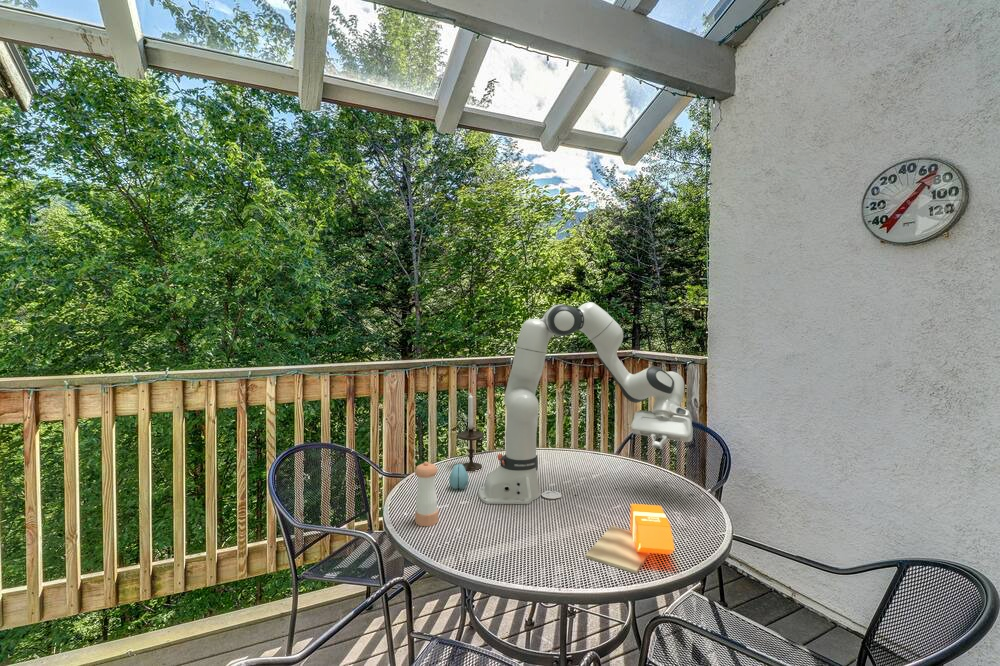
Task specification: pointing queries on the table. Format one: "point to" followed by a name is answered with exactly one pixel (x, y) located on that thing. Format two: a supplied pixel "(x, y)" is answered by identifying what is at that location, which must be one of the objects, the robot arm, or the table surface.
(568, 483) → the table surface
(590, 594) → the table surface
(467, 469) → the candlestick
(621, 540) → the board
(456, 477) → the toy flower bud
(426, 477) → the pepper shaker
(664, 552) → the orange juice
